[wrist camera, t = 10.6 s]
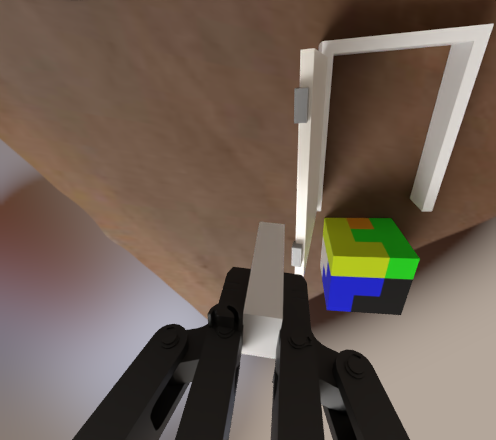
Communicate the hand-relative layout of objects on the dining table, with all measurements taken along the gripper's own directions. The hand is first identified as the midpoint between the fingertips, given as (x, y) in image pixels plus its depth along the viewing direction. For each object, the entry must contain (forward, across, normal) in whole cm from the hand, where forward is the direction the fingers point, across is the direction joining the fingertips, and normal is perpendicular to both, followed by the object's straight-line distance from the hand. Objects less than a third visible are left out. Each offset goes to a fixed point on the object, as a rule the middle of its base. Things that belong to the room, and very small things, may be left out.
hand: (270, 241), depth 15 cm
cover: (+12, +4, +1) cm, 12 cm away
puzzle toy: (+23, +14, -16) cm, 31 cm away
